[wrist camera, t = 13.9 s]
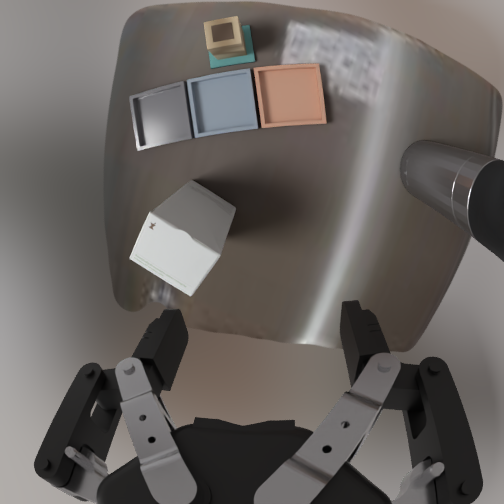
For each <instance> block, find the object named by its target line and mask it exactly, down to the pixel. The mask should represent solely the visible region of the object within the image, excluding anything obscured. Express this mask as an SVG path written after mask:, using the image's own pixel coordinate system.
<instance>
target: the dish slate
mask: <svg viewBox="0 0 504 504" xmlns="http://www.w3.org/2000/svg"><path fill="white" fill-rule="evenodd" d="M187 85H188V93H189V100H190V107H191V114H192V120H193V127H194V134H195V138H197V137H203V136H208V135H214V134H221V133H227V132H234V131H242V130H249V129H258V128H259V127H258V120H257V112H256V105H255V97H254V90H253V83H252V76H251V70H250V68H249V69H242V70H235V71H229V72H223V73H218V74H212V75H207V76H202V77H198V78H193V79H189V80H187Z"/></svg>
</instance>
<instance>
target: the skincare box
mask: <svg viewBox="0 0 504 504" xmlns="http://www.w3.org/2000/svg"><path fill="white" fill-rule="evenodd" d="M235 211H236V207H234V206H233V205H231V204H230V203H228V202H226V201H225V200H223V199H222V198H220V197H219V196H217V195H216V194H214V193H212V192H211V191H209V190H208V189H206V188H204V187H203V186H201V185H200V184H198V183H196V182H195V181H193V180H191V181H189V182H188V183H187V184H185V185H184V186H183V187H182V188H180V189H179V190H178V191H177V192H175V193H174V194H173V195H172V196H170V197H169V198H168V199H167V200H165V201H164V202H163V203H162V204H160V205H159V206H158V207H157V208H155V209H154V210H153V211H150V212H149V214H148V217H147V219H146V221H145V223H144V225H143V227H142V230H141V232H140V234H139V237H138V239H137V241H136V244H135V246H134V249H133V251H132V253H131V256H130V259H131V260H133V261H134V262H136V263H137V264H139V265H141V266H142V267H144V268H145V269H147V270H149V271H150V272H152V273H153V274H155V275H156V276H158V277H160V278H161V279H163V280H165V281H166V282H168V283H169V284H171V285H173V286H174V287H176V288H178V289H179V290H181V291H183V292H184V293H186V294H188V295H189V296H192V295H193V293H194V292H195V291H196V290H197V288H198V287H199V285H200V284H201V283H202V281H203V280H204V278H205V277H206V276H207V274H208V273H209V271H210V270H211V269H212V267H213V266H214V264H215V263H216V262H217V260H218V259H219V257H220V255H221V252H222V249H223V246H224V243H225V240H226V237H227V235H228V232H229V229H230V226H231V223H232V220H233V217H234V214H235Z"/></svg>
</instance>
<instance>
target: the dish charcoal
mask: <svg viewBox="0 0 504 504" xmlns="http://www.w3.org/2000/svg"><path fill="white" fill-rule="evenodd" d="M129 98H130V106H131V113H132V120H133V126H134V133H135V139H136V144H137V150H142V149H146V148H150V147H155V146H159V145H163V144H168V143H172V142H177V141H182V140H187V139H192V138H195V136H194V130H193V123H192V117H191V110H190V103H189V96H188V88H187V82H185V81H181V82H177V83H173V84H169V85H166V86H162V87H158V88H155V89H152V90H148V91H145V92H142V93H139V94H136V95H133V96H130V97H129Z"/></svg>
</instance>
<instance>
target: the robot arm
mask: <svg viewBox="0 0 504 504" xmlns="http://www.w3.org/2000/svg"><path fill="white" fill-rule="evenodd" d="M400 172H401V178H402V182H403V184H404V186H405V188H406V189H407V190H408V192H409V193H411V194H412V195H413V196H415V197H416V198H418V199H419V200H421V201H422V202H424V203H425V204H427V205H428V206H430V207H431V208H433V209H434V210H436V211H437V212H439V213H440V214H442V215H443V216H445V217H446V218H447V219H449V220H450V221H452V222H453V223H454V224H456V225H457V226H459V227H460V228H461V229H463V230H464V231H465V232H467V233H468V234H469V235H471V236H472V237H473V238H475V239H476V240H477V241H478V242H480V243H481V244H482V245H483V246H485V247H486V248H487V249H489V250H490V251H491V252H493V253H494V254H495V255H496V256H498V257H499V258H500V259H501V260H502V261H503V262H504V161H503V160H500V159H496V158H493V157H490V156H487V155H483V154H479V153H476V152H472V151H469V150H465V149H461V148H457V147H453V146H449V145H445V144H441V143H436V142H431V141H424V140H422V141H417V142H415V143H413V144H412V145H411V146H409V147H408V149H407V150H406V151H405V153H404V155H403V157H402V161H401V167H400ZM340 336H341V341H342V345H343V350H344V354H345V359H346V364H347V368H348V373H349V378H350V383H351V389H350V391H349V392H345V393H344V394H343V396H341V398H340V399H339V401H338V402H337V403H336V405H335V406H334V407H333V409H332V410H331V411H330V413H329V414H328V415H327V416H326V418H325V419H324V420H323V422H322V423H321V424H320V425H319V427H318V428H317V429H316V430H315V431H314V432H312V431H310V430H308V429H304V428H301V427H296V426H295V420H282V421H281V420H280V421H266V422H261V423H256V424H251V425H246V426H241V425H237V424H233V423H229V422H226V421H222V420H219V419H208V418H197V417H195V420H194V424H190V425H185V426H182V427H179V428H176V426H175V424H174V422H173V420H172V419H171V416H170V415H169V412H168V410H167V408H166V406H165V404H164V402H163V400H162V397H161V396H160V393H161V391H162V390H166V391H170V390H171V387H172V384H173V381H174V378H175V376H176V373H177V370H178V367H179V364H180V362H181V359H182V357H183V354H184V351H185V348H186V346H187V343H188V331H187V328H186V325H185V322H184V319H183V316H182V313H181V311H180V310H179V309H165V310H164V311H163V313H162V315H161V316H160V318H159V319H158V318H156V319H155V320H154V321H153V322H152V323H151V324H149V326H148V328H147V330H146V333H145V334H144V335H143V337H142V339H141V341H140V342H139V344H138V346H137V348H136V350H135V352H134V353H133V355H132V357H131V358H127V359H124V360H122V361H121V362H120V363H119V364H118V365H117V367H116V368H114V369H107V370H102V368H101V367H100V365H99V364H97V363H89V364H86V365H84V366H83V367H82V368H81V369H80V370H79V372H78V374H77V375H76V377H75V379H74V381H73V383H72V385H71V386H70V388H69V390H68V392H67V394H66V396H65V397H64V399H63V401H62V403H61V405H60V407H59V409H58V411H57V413H56V415H55V417H54V419H53V421H52V423H51V425H50V427H49V429H48V432H47V434H46V436H45V438H44V440H43V442H42V445H41V447H40V449H39V451H38V454H37V456H36V459H35V462H34V468H35V471H36V473H37V474H38V475H39V476H40V477H41V478H43V479H44V480H46V481H47V482H49V483H50V484H51V485H53V486H54V487H56V488H57V489H59V490H61V491H63V492H64V493H66V494H68V495H71V496H73V497H75V498H77V499H79V500H81V501H91V502H93V503H96V504H470V503H472V502H474V501H475V500H476V499H477V498H478V496H479V495H480V493H481V491H482V487H483V479H482V474H481V469H480V465H479V460H478V456H477V452H476V448H475V445H474V440H473V437H472V433H471V430H470V427H469V423H468V421H467V417H466V414H465V411H464V408H463V405H462V402H461V399H460V397H459V394H458V391H457V388H456V386H455V383H454V381H453V378H452V376H451V373H450V371H449V368H448V366H447V364H446V363H445V362H444V361H443V360H442V359H440V358H437V357H428V358H425V359H424V360H423V361H422V362H421V363H420V365H413V364H412V365H411V364H404V363H401V362H400V361H399V359H398V358H397V357H396V356H394V355H392V354H391V353H390V351H389V348H388V346H387V343H386V340H385V338H384V335H383V333H382V331H381V328H380V325H379V323H378V320H377V318H376V316H375V315H374V314H373V313H372V312H371V311H370V310H369V309H368V310H362V309H361V307H360V304H359V301H358V300H354V301H344V302H342V310H341V322H340ZM95 401H96V402H97V405H96V407H95V409H94V412H93V414H92V416H91V417H90V413H91V409H92V408H93V405H94V403H95ZM383 409H395V410H402V411H403V416H404V421H405V426H406V431H407V437H408V443H409V449H410V455H411V461H412V470H411V471H410V472H409V473H408V474H407V475H406V476H405V477H404V478H403V480H402V482H401V486H400V492H399V495H398V496H397V498H396V499H395V500H393V501H391V500H390V499H389V497H388V496H387V495H386V494H385V493H384V492H383V491H381V490H380V489H379V488H378V487H377V486H375V485H374V484H373V483H372V482H370V481H369V480H368V479H367V478H366V477H365V476H363V475H362V474H361V473H360V472H359V471H358V470H357V469H355V468H354V467H353V466H352V465H351V464H350V462H351V461H352V459H353V458H354V457H355V455H356V453H357V452H358V451H359V449H360V447H361V446H362V444H363V443H364V441H365V439H366V437H367V436H368V434H369V433H370V431H371V429H372V428H373V426H374V424H375V422H376V421H377V419H378V417H379V416H380V414H381V412H382V410H383ZM122 412H123V415H124V418H125V422H126V425H127V428H128V431H129V434H130V436H131V439H132V442H133V445H134V447H135V450H136V453H137V455H138V456H137V457H135V458H134V459H132V460H131V461H129V462H128V463H126V464H125V465H123V466H122V467H120V468H119V469H117V470H116V471H114V472H113V473H111V474H108V473H107V471H108V470H107V466H106V464H105V460H106V457H107V454H108V451H109V448H110V445H111V442H112V439H113V437H114V434H115V431H116V428H117V426H118V423H119V419H120V417H121V415H122Z"/></svg>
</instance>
